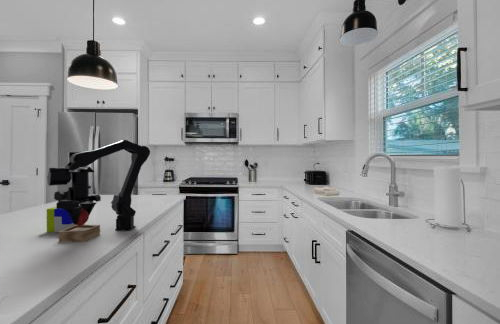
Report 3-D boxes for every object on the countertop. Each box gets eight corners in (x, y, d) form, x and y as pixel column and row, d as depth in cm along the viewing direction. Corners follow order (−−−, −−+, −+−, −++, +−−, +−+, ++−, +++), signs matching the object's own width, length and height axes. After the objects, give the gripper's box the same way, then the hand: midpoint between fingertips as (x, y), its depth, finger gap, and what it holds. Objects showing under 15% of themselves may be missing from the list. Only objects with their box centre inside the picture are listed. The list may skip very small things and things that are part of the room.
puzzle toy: (69, 232, 112) (69, 209, 111) (46, 231, 112) (46, 209, 112) (84, 226, 122) (84, 205, 121) (63, 225, 122) (63, 204, 122)
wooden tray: (99, 233, 109) (99, 225, 109) (84, 241, 99) (84, 231, 99) (76, 233, 109) (76, 224, 109) (58, 241, 99) (58, 231, 99)
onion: (92, 225, 105) (92, 205, 105) (78, 228, 100) (78, 208, 100) (81, 223, 107) (81, 204, 107) (68, 227, 102) (68, 207, 102)
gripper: (76, 181, 113) (76, 217, 113) (41, 186, 94) (41, 228, 94) (101, 181, 113) (101, 217, 113) (71, 186, 94) (72, 228, 94)
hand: (80, 222), depth 104 cm, fingers closed on onion, 6 cm apart
